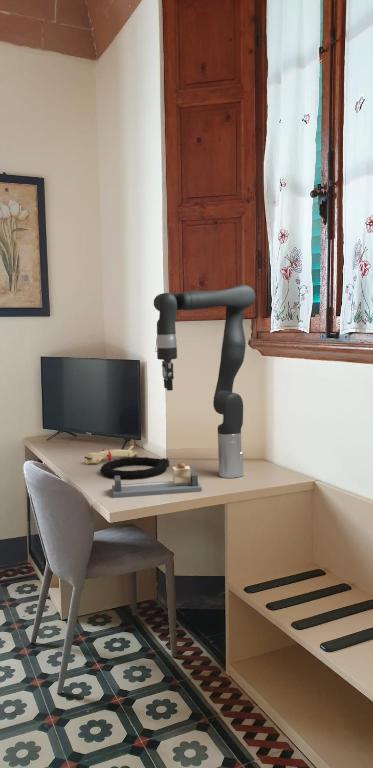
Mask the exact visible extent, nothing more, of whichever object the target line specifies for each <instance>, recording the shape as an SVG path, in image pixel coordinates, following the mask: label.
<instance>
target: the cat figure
mask: <svg viewBox="0 0 373 768" xmlns="http://www.w3.org/2000/svg"><path fill="white" fill-rule="evenodd" d="M128 443H129V447H128V448H127V449H121V448H119V449H105V448H103V449H101V451H97V452H88V453H87V454H86V455H84V459H85V460H84V459H83V462H85V465H88V464H89V465H90V464H95V465H96V464H100V462H101V460H102V461H104V459H107V461H108V462H110V461H113V460H112V459H113V458H118V457H119V458H135V457H139V456H138V455H139V454H138V451H134V450H133V448H134V447H135V445H136V444H135V442H134V441H133V440H130V441H129V442H128Z"/></svg>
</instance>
